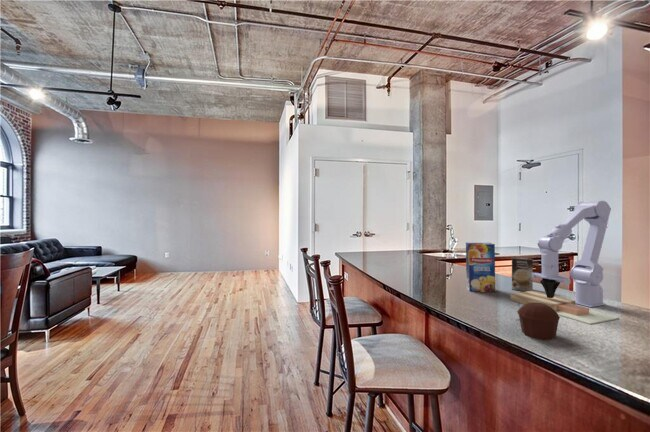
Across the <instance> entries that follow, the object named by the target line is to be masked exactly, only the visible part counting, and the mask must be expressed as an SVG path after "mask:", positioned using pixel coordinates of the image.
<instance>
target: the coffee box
mask: <svg viewBox="0 0 650 432" xmlns="http://www.w3.org/2000/svg"><path fill="white" fill-rule="evenodd" d="M533 260H534V258H529V257H516V256H511V290H514V291H520V292H526V291H534V290H533V288H534V285H533V283H534V277H532V273H534V271H533V267H534V266H533V264H534V263H533V262H534V261H533Z"/></svg>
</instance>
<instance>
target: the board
mask: <svg viewBox="0 0 650 432" xmlns="http://www.w3.org/2000/svg"><path fill="white" fill-rule="evenodd" d="M510 301H512V302H515V303H520V304H521V305H525V304H527V303H532V302H537V303H543V304H546V305H548V306H550V307H551V308H553V309H554V310H555V311H558V310H557V305H562V304H569V303H570V304H574V305H576V303H575V300H573V299H569V298H565V297H562V296H558V295H554V298H547V295H546V292H545V293H544V292H540V291H536V290H533V291H520V292H512V293H510Z"/></svg>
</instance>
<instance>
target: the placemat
mask: <svg viewBox="0 0 650 432" xmlns="http://www.w3.org/2000/svg"><path fill="white" fill-rule="evenodd" d="M556 313H557V314H558V315H559V317H564V318H568V319H570V320H574V321H577V322H580V323H583V324H588V325H594V324H598V323H599V324H600V323H603V322H604V323H605V322H608V321H614V320H619V319H620V317H619V316H614V315H610V314H606V313H603V312H599V311H596V310H591V309H589V314H584V315H578V316H576V315H572V314H569V313H565V312H562V311H556Z"/></svg>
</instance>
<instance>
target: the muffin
mask: <svg viewBox="0 0 650 432" xmlns="http://www.w3.org/2000/svg"><path fill="white" fill-rule="evenodd" d="M516 312H517V314H518V317H519V318H518V319H519V322H520V323H519V324H520V328H521V329H520V330H521V332H522V334H524V335H525V336H526V337H529V338H532V339H536V340H542V341H553V340H554V339H555V338H556V336H557V331H558V327H559V321H560V319H561V316H560V315H558V314H557V313H556V311H555V310H554V309H553V308H551V307H550V306H548V305H546V304H543V303H537V302H532V303H527V304H522V306H520V307H519V309H518V310H517V311H516Z"/></svg>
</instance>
